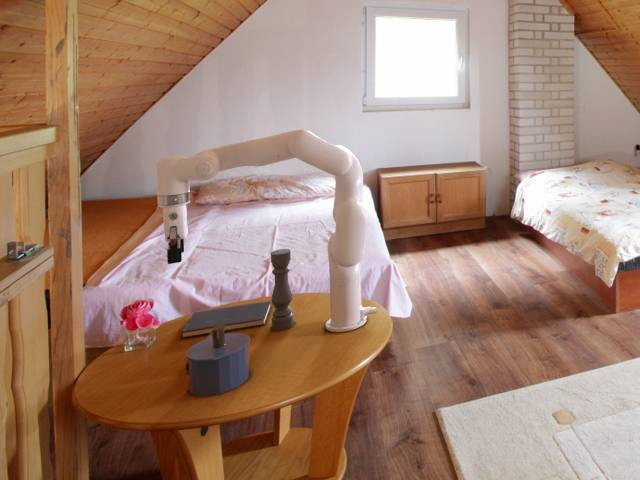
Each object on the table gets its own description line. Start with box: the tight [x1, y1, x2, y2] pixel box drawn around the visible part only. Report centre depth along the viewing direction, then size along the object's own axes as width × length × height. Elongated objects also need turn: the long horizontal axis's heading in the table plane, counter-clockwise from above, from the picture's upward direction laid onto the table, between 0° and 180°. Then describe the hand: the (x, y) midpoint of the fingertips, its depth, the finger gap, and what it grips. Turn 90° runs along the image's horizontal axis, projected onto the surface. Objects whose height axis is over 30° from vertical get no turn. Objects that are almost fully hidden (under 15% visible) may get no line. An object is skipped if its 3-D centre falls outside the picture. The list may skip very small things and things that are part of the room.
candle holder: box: [270, 248, 294, 332], centre depth 190 cm, size 6×6×25 cm
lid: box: [185, 325, 251, 362], centre depth 157 cm, size 15×15×6 cm
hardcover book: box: [180, 300, 272, 340], centre depth 194 cm, size 16×23×2 cm
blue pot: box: [187, 345, 250, 397], centre depth 158 cm, size 14×14×10 cm
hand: (176, 257), depth 166 cm, fingers open, 9 cm apart
